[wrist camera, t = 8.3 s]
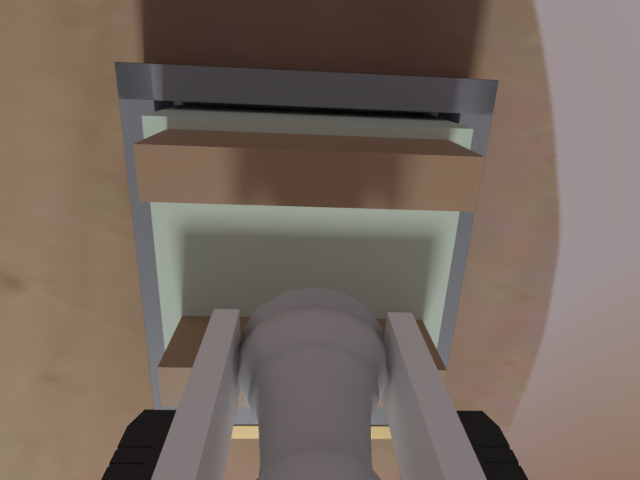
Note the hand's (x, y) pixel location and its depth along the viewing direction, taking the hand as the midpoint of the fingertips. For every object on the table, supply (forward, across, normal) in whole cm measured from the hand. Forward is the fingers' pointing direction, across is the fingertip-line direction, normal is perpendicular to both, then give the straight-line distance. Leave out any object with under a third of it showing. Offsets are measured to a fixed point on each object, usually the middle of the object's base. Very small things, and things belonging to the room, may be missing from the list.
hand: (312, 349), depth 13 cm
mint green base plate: (+14, 0, 0) cm, 14 cm away
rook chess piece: (0, 0, 0) cm, 0 cm away
